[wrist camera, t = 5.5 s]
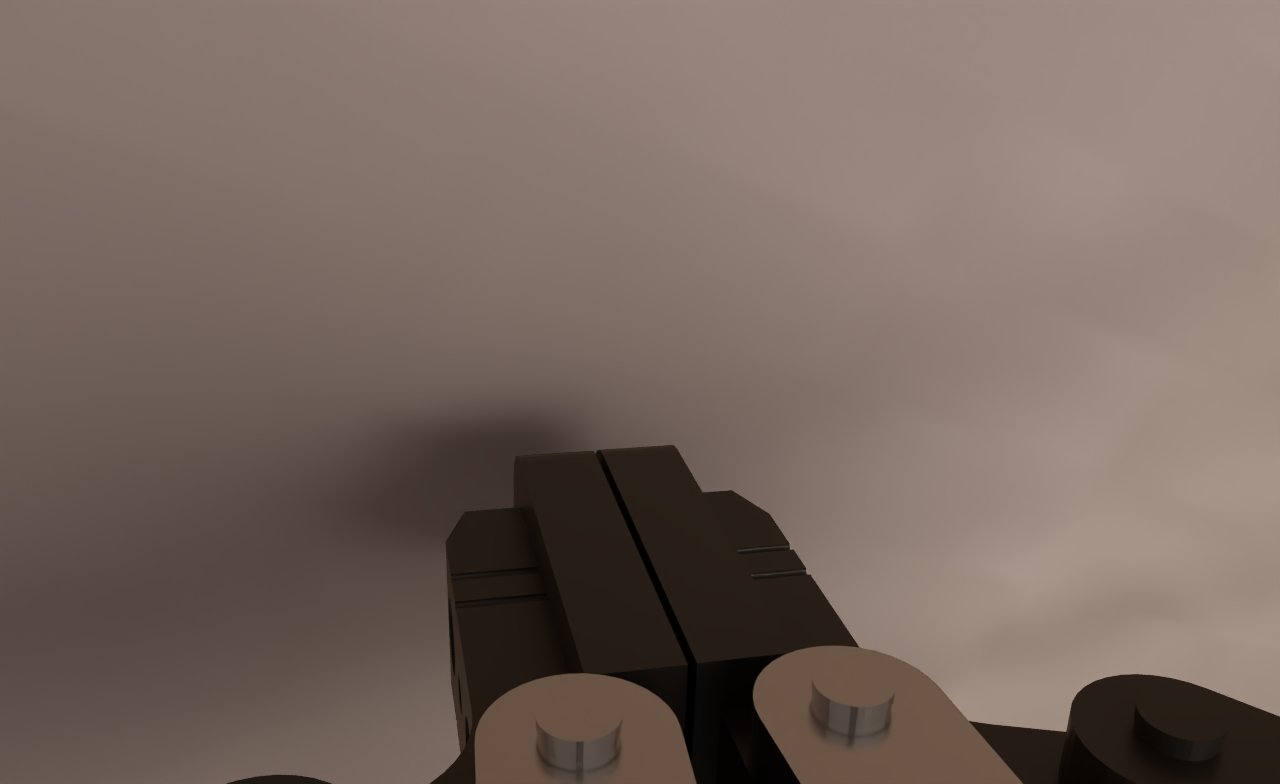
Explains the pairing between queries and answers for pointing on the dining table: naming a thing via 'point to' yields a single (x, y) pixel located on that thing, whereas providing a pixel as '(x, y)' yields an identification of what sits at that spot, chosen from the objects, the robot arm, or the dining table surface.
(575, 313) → the dining table surface
